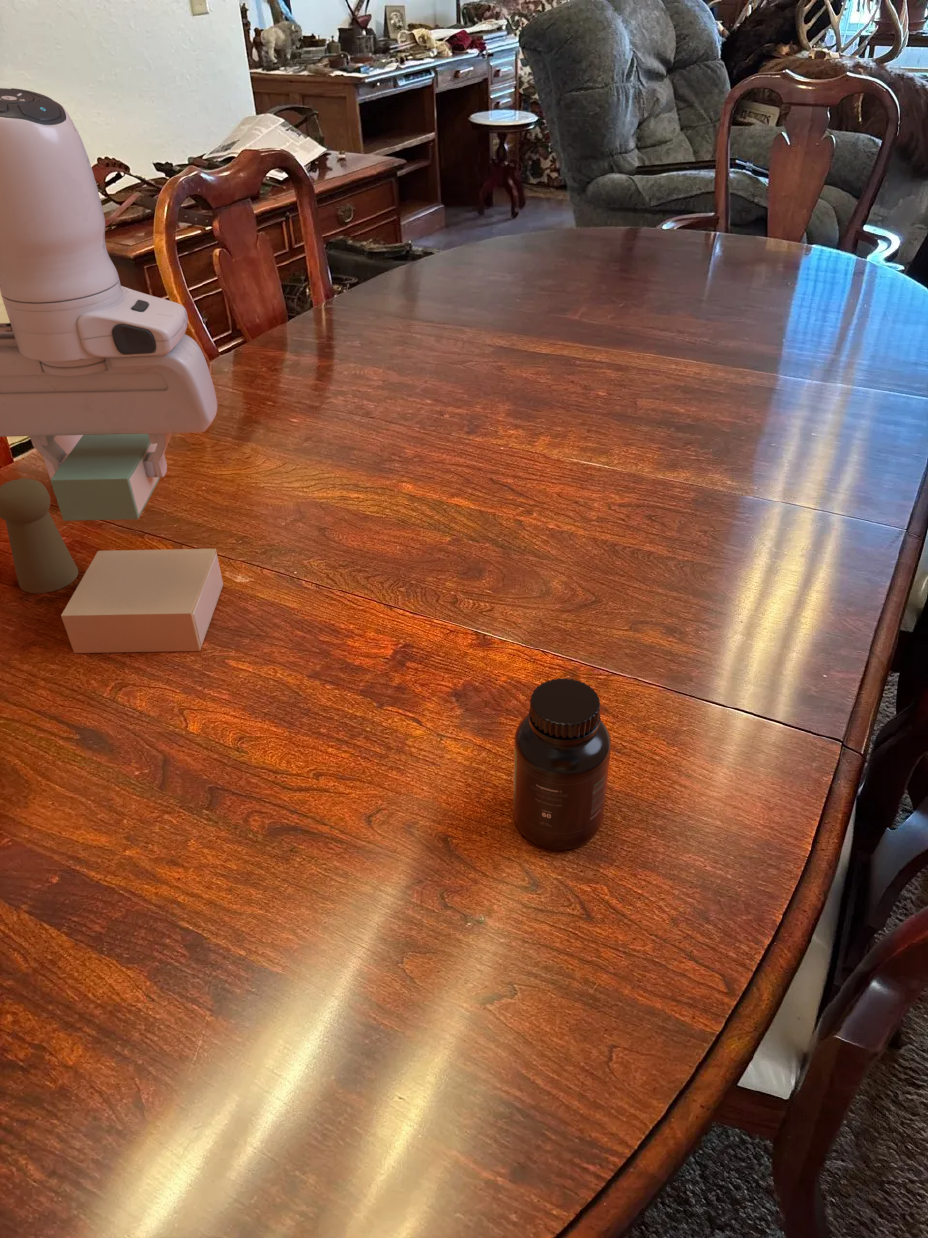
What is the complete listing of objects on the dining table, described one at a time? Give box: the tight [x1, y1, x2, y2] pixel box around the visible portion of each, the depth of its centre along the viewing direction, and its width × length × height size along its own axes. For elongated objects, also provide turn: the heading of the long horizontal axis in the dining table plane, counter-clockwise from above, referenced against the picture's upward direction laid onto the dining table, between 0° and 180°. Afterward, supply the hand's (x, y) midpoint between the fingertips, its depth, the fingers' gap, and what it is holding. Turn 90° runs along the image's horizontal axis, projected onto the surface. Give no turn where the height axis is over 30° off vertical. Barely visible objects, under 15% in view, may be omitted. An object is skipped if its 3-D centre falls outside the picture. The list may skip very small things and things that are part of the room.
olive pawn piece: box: [0, 478, 79, 594], centre depth 94 cm, size 6×6×11 cm
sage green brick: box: [49, 434, 168, 522], centre depth 82 cm, size 7×10×4 cm, turn 0°
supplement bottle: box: [512, 677, 612, 851], centre depth 67 cm, size 7×7×12 cm
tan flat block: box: [60, 548, 224, 654], centre depth 90 cm, size 12×11×4 cm
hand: (113, 475), depth 82 cm, fingers closed on sage green brick, 6 cm apart
